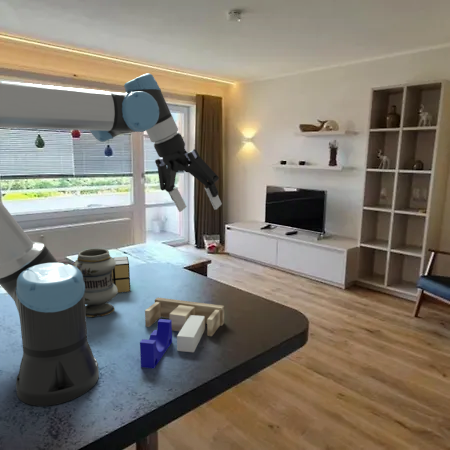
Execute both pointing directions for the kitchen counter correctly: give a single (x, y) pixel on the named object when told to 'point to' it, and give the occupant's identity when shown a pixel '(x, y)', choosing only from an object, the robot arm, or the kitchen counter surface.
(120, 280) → the puzzle cube
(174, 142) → the robot arm
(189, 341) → the white rectangular bar
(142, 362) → the blue stepped long piece
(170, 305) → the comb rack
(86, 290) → the apothecary jar
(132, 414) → the kitchen counter surface
